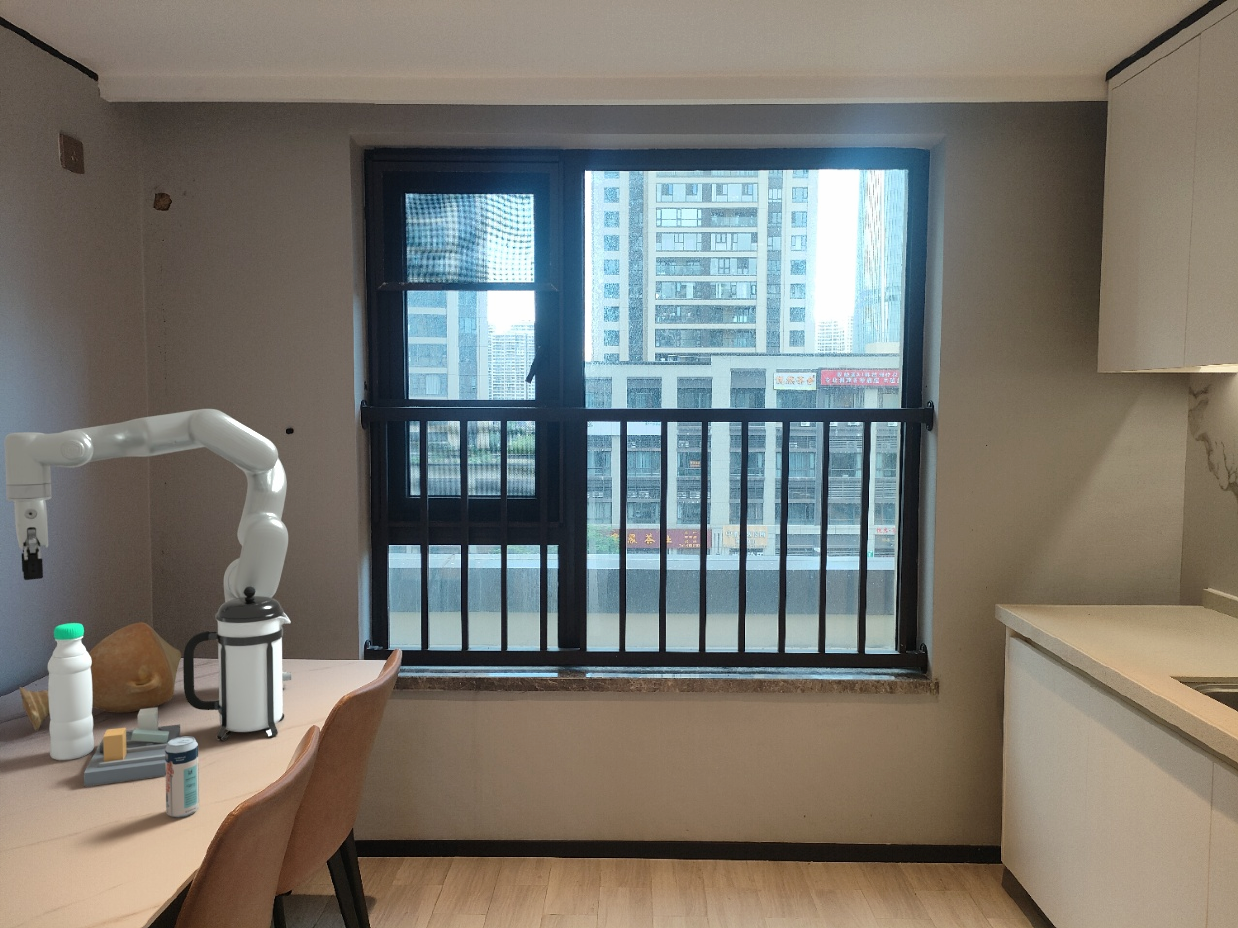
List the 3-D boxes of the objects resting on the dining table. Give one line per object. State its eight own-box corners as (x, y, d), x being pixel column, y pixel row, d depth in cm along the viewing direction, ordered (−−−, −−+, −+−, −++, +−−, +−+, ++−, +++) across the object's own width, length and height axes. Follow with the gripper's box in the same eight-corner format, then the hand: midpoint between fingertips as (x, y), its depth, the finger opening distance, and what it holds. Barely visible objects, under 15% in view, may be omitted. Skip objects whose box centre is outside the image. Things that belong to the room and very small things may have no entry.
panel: (180, 735, 171) (179, 718, 170) (167, 775, 152) (167, 755, 152) (106, 744, 166) (105, 726, 166) (84, 786, 147) (83, 766, 147)
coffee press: (261, 710, 185) (259, 576, 184) (305, 727, 176) (303, 585, 174) (182, 734, 171) (179, 588, 170) (225, 753, 162) (223, 599, 160)
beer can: (174, 805, 141) (172, 735, 140) (203, 805, 141) (202, 734, 140) (161, 819, 136) (159, 746, 135) (191, 818, 136) (190, 746, 135)
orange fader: (126, 753, 155) (125, 727, 155) (123, 760, 152) (122, 734, 152) (107, 755, 154) (107, 729, 154) (103, 763, 151) (103, 736, 151)
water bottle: (102, 749, 163) (99, 622, 162) (68, 763, 157) (64, 631, 155) (76, 744, 166) (72, 619, 164) (41, 758, 159) (37, 627, 157)
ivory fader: (158, 731, 166) (157, 707, 166) (155, 738, 163) (155, 713, 163) (141, 733, 165) (140, 708, 165) (138, 740, 162) (137, 715, 162)
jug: (201, 661, 182) (36, 710, 161) (192, 713, 192) (36, 767, 171) (168, 596, 191) (8, 634, 170) (161, 649, 202) (10, 692, 181)
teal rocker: (167, 738, 162) (169, 731, 162) (166, 742, 160) (167, 735, 160) (132, 736, 160) (134, 728, 160) (130, 740, 158) (132, 732, 158)
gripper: (53, 495, 168) (56, 579, 169) (48, 488, 182) (51, 566, 183) (7, 497, 163) (10, 584, 165) (5, 490, 177) (9, 570, 178)
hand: (32, 575), depth 174 cm, fingers open, 9 cm apart
